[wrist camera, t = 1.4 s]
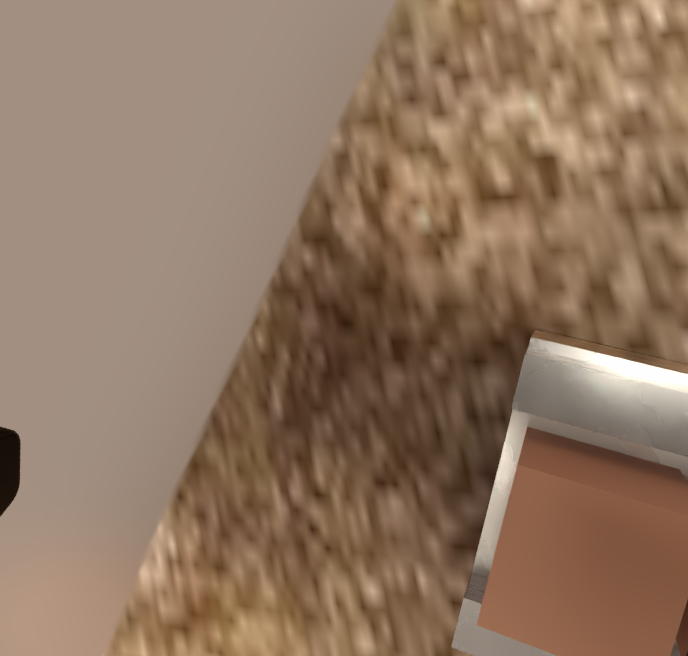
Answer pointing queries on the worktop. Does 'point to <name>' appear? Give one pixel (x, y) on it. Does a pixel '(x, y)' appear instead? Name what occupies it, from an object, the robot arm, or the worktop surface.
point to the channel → (582, 425)
